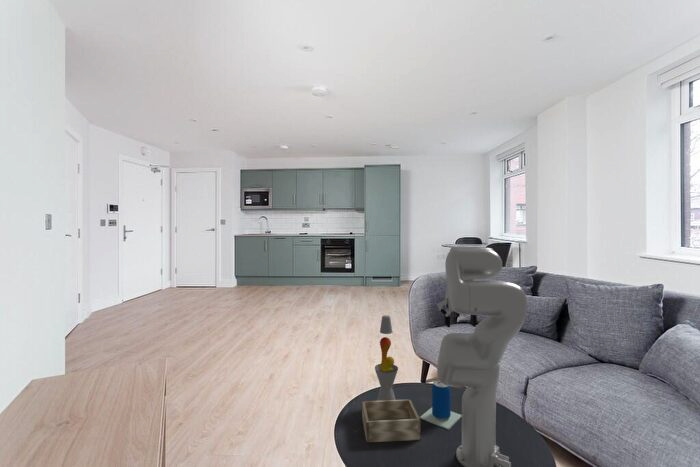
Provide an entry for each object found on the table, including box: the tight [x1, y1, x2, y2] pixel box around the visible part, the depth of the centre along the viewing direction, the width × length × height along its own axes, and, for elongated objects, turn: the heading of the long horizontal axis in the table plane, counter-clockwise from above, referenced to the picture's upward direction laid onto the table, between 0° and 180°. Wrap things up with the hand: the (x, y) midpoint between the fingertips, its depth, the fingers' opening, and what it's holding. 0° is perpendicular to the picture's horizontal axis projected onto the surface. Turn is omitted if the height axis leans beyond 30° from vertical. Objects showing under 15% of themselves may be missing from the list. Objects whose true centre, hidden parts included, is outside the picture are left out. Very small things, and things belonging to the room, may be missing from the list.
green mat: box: [419, 407, 462, 431], centre depth 126 cm, size 11×11×1 cm
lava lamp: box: [374, 314, 399, 401], centre depth 134 cm, size 9×9×35 cm
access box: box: [361, 398, 421, 443], centre depth 119 cm, size 18×14×6 cm
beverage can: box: [431, 379, 452, 420], centre depth 126 cm, size 6×6×12 cm
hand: (460, 326), depth 129 cm, fingers open, 9 cm apart
